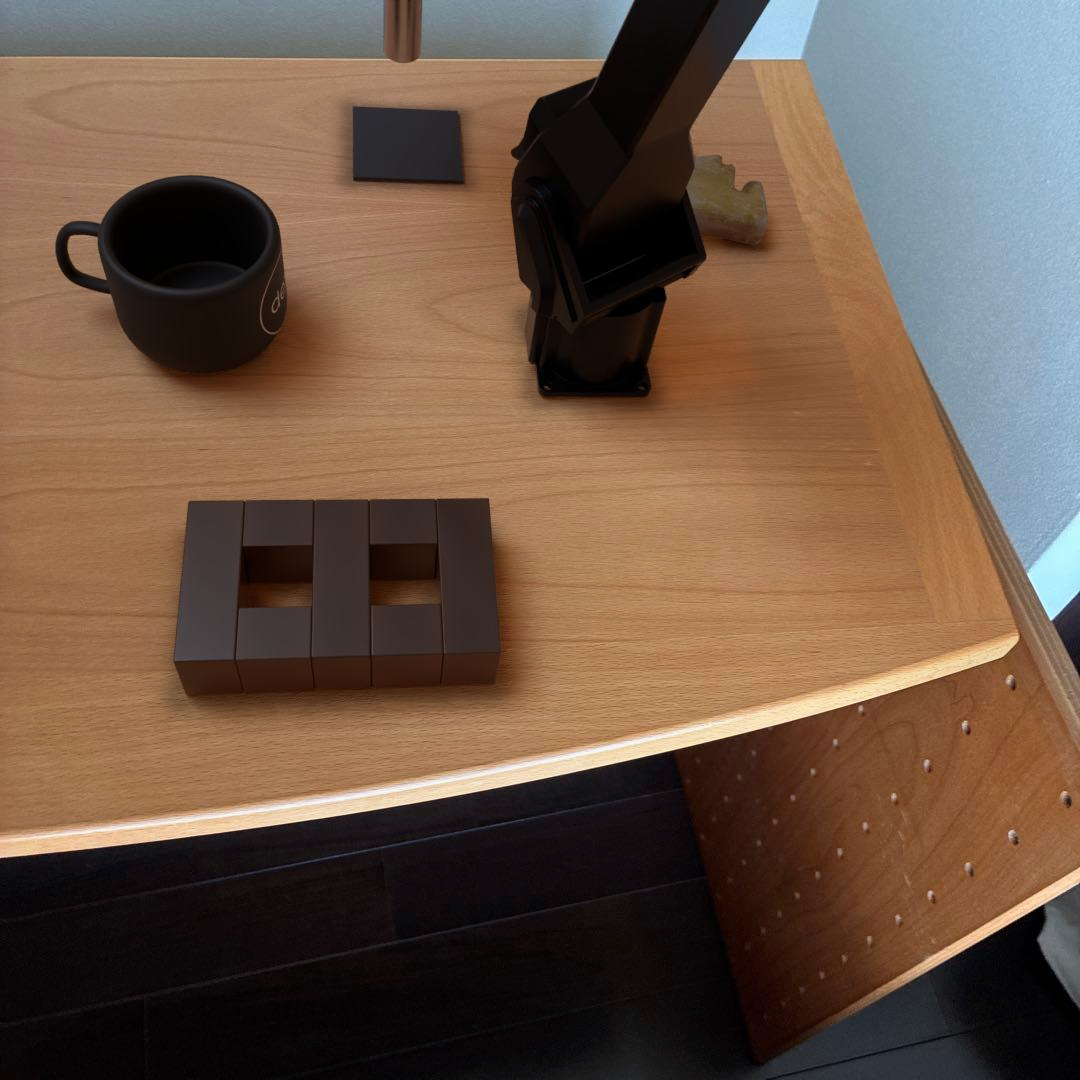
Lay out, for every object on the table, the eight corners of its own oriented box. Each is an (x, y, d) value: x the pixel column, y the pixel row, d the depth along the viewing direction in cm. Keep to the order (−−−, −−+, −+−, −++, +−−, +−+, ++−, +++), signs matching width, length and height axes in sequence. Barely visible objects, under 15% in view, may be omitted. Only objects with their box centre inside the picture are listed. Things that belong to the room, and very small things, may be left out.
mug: (306, 285, 64) (297, 187, 58) (269, 402, 59) (256, 309, 53) (100, 252, 64) (71, 150, 58) (46, 367, 59) (7, 269, 53)
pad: (457, 114, 74) (458, 110, 74) (463, 184, 71) (463, 180, 70) (352, 109, 73) (352, 106, 73) (353, 180, 70) (352, 176, 69)
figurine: (756, 156, 72) (535, 116, 68) (785, 179, 68) (551, 137, 64) (733, 234, 75) (519, 199, 71) (760, 260, 70) (533, 225, 66)
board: (483, 535, 57) (489, 497, 54) (495, 685, 52) (501, 652, 49) (198, 539, 54) (187, 499, 52) (185, 695, 50) (172, 661, 47)
